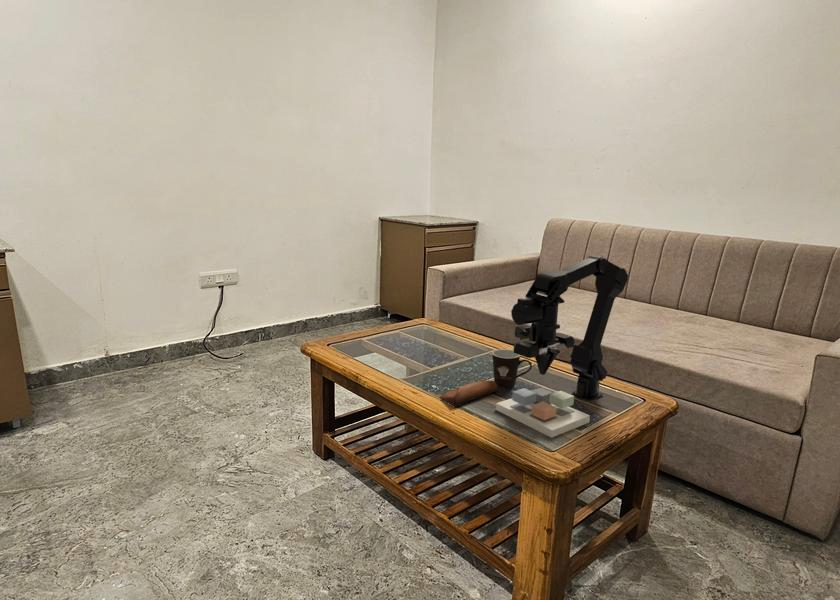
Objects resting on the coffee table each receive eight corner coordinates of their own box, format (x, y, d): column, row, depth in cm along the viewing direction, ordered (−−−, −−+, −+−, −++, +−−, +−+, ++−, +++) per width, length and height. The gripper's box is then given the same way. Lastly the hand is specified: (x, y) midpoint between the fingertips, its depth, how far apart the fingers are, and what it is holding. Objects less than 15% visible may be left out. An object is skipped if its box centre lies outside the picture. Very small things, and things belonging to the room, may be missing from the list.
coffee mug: (485, 383, 173) (486, 353, 171) (502, 376, 179) (503, 347, 177) (515, 394, 165) (517, 362, 163) (532, 386, 171) (534, 356, 169)
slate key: (523, 396, 154) (524, 388, 153) (535, 401, 150) (536, 393, 150) (512, 400, 151) (512, 391, 150) (524, 405, 148) (524, 397, 147)
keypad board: (532, 397, 163) (533, 390, 162) (589, 422, 147) (589, 414, 147) (496, 409, 154) (496, 402, 154) (551, 437, 139) (552, 429, 138)
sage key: (560, 399, 152) (560, 390, 152) (573, 404, 149) (574, 396, 148) (549, 402, 150) (549, 394, 149) (562, 408, 146) (563, 399, 146)
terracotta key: (542, 410, 149) (543, 401, 148) (555, 416, 145) (556, 407, 144) (531, 414, 146) (531, 405, 145) (544, 420, 142) (544, 411, 142)
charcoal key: (540, 395, 158) (540, 387, 157) (552, 400, 155) (553, 392, 154) (529, 399, 155) (530, 390, 155) (541, 404, 152) (542, 396, 151)
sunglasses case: (477, 383, 173) (486, 369, 169) (491, 400, 169) (500, 386, 165) (435, 398, 161) (443, 383, 157) (449, 417, 158) (458, 402, 154)
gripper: (546, 309, 161) (542, 360, 165) (500, 318, 150) (497, 372, 154) (577, 317, 153) (573, 371, 156) (531, 327, 142) (527, 384, 145)
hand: (542, 374), depth 153 cm, fingers closed
